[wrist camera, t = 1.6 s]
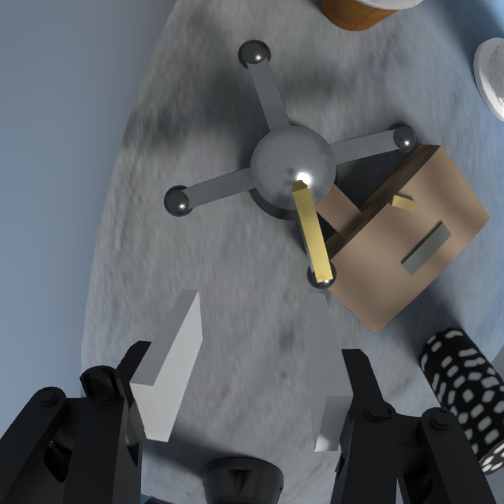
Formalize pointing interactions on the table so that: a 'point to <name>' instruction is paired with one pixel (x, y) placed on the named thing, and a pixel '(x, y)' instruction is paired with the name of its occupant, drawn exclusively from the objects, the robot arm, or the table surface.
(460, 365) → the spotted tube
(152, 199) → the table surface
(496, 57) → the decorative container
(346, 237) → the walnut stand
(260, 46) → the capstan
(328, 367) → the robot arm
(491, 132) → the table surface
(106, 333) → the table surface
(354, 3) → the disposable coffee cup
